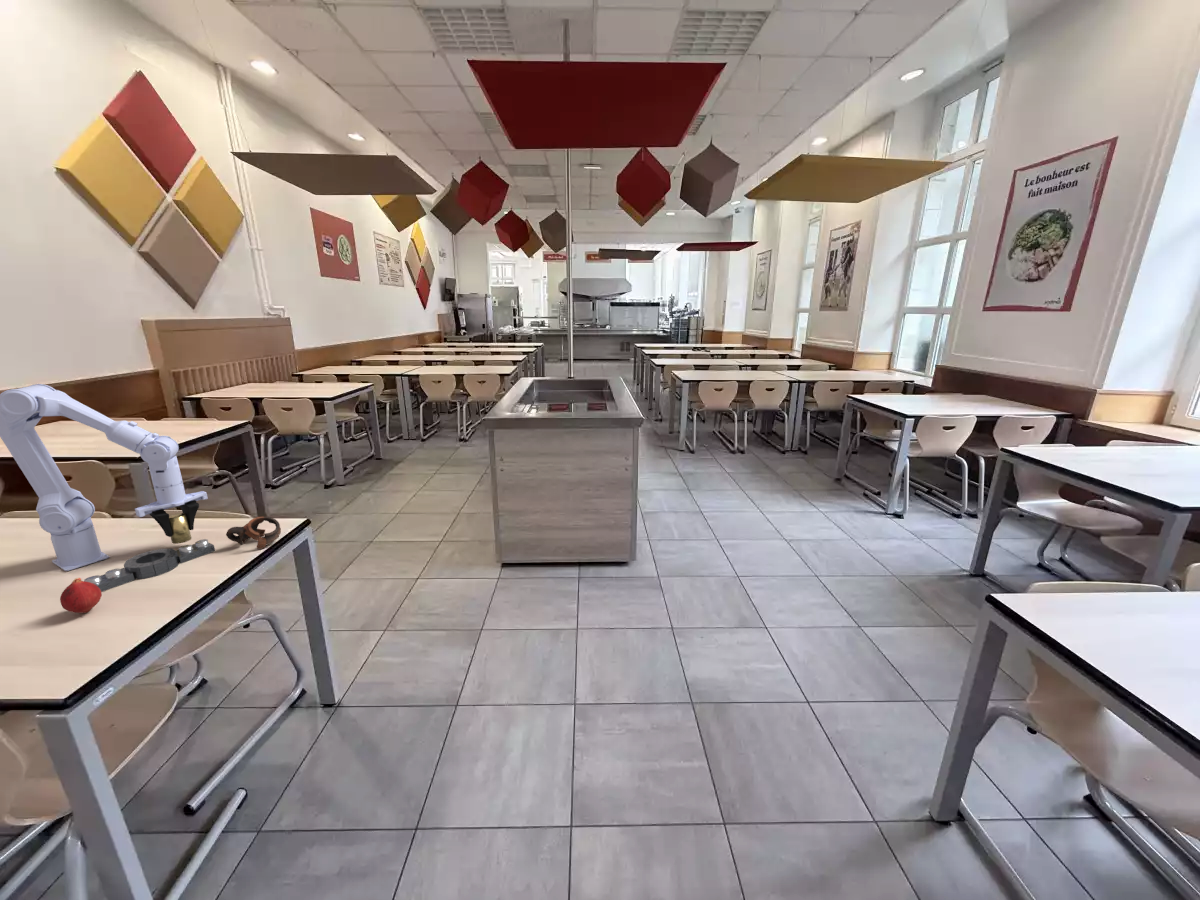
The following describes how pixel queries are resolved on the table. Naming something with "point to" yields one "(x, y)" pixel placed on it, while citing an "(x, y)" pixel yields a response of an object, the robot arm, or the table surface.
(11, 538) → the table surface
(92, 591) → the onion
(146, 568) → the studded flange bracket
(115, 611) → the table surface
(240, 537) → the rusty ring shackle
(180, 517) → the pin
